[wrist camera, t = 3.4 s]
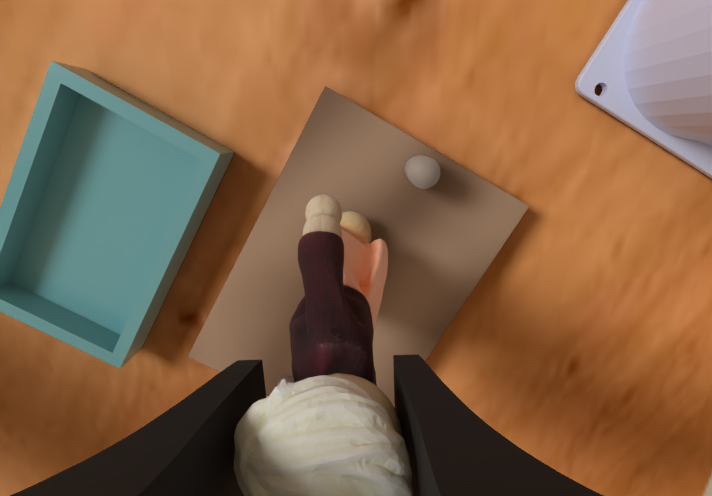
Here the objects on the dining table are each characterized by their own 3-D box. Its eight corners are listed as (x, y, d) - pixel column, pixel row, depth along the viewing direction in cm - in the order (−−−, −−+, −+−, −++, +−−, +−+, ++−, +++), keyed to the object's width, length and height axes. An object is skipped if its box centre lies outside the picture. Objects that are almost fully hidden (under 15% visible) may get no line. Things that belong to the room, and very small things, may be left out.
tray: (234, 152, 19) (220, 153, 17) (141, 348, 22) (119, 368, 20) (83, 68, 18) (51, 60, 17) (5, 282, 21) (-31, 297, 19)
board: (519, 201, 20) (548, 214, 17) (368, 429, 23) (369, 475, 20) (327, 89, 19) (320, 79, 15) (197, 344, 22) (169, 379, 19)
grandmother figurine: (402, 316, 20) (487, 673, 8) (320, 333, 20) (283, 705, 8) (365, 150, 17) (412, 310, 5) (272, 172, 17) (105, 375, 5)
